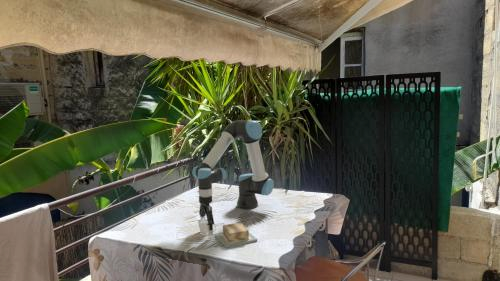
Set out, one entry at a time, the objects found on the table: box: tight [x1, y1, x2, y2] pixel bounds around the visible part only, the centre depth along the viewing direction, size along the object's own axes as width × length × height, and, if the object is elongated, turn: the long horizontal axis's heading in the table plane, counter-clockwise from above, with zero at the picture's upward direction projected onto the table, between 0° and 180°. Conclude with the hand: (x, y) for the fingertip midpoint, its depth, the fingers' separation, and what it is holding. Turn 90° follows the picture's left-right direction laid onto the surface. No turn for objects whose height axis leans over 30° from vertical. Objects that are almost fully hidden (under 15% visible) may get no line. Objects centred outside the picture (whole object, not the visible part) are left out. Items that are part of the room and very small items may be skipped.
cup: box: [197, 218, 217, 236], centre depth 203 cm, size 7×10×8 cm
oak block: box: [222, 222, 250, 242], centre depth 195 cm, size 11×13×5 cm
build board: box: [214, 232, 258, 249], centre depth 195 cm, size 18×18×1 cm
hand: (206, 231), depth 203 cm, fingers open, 13 cm apart
